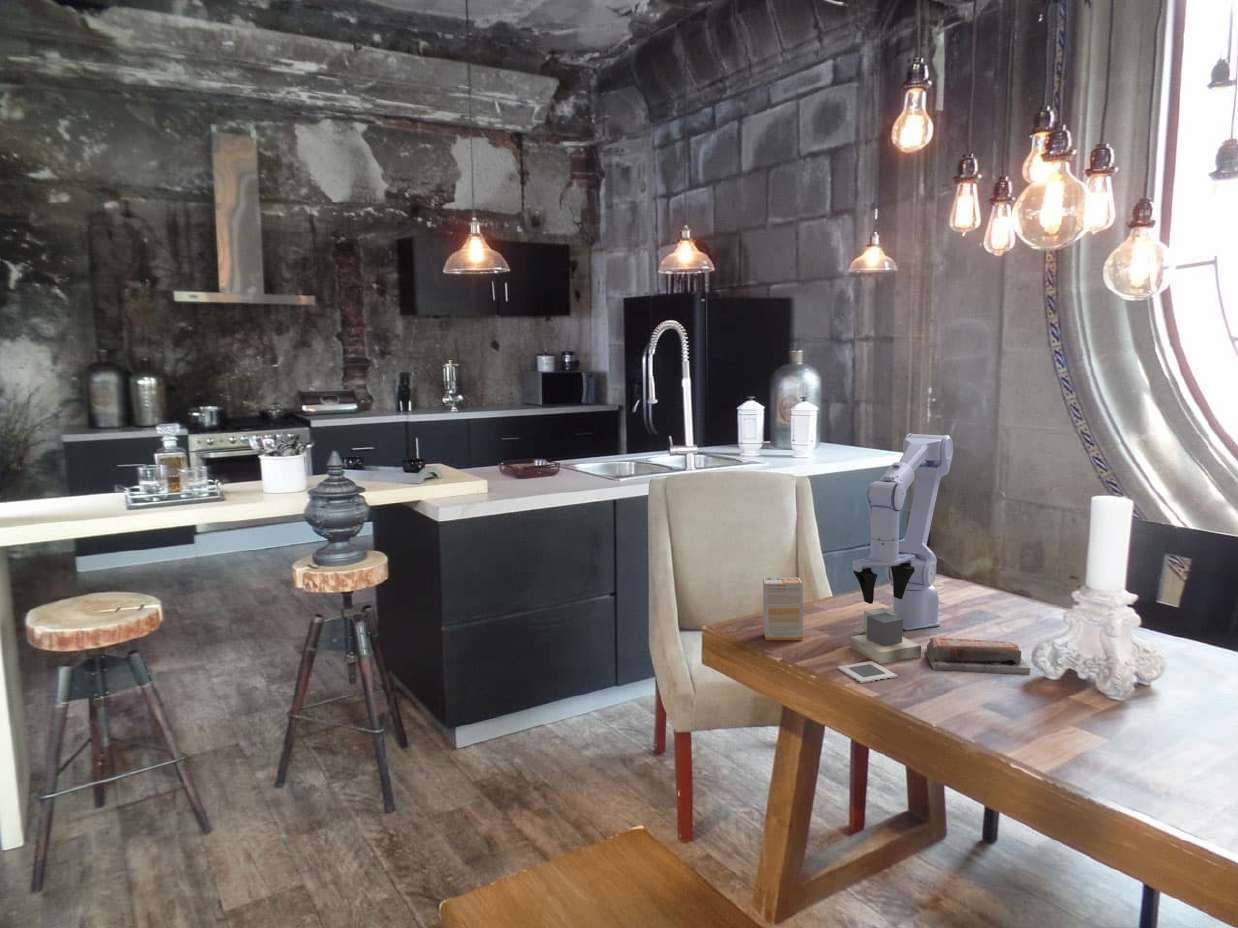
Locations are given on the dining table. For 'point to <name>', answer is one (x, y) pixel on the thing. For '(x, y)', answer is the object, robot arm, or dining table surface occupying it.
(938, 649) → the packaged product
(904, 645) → the birch base block
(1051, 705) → the dining table surface
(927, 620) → the robot arm
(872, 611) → the sage block
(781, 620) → the supplement box
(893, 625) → the charcoal block
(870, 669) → the tile
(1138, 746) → the dining table surface
